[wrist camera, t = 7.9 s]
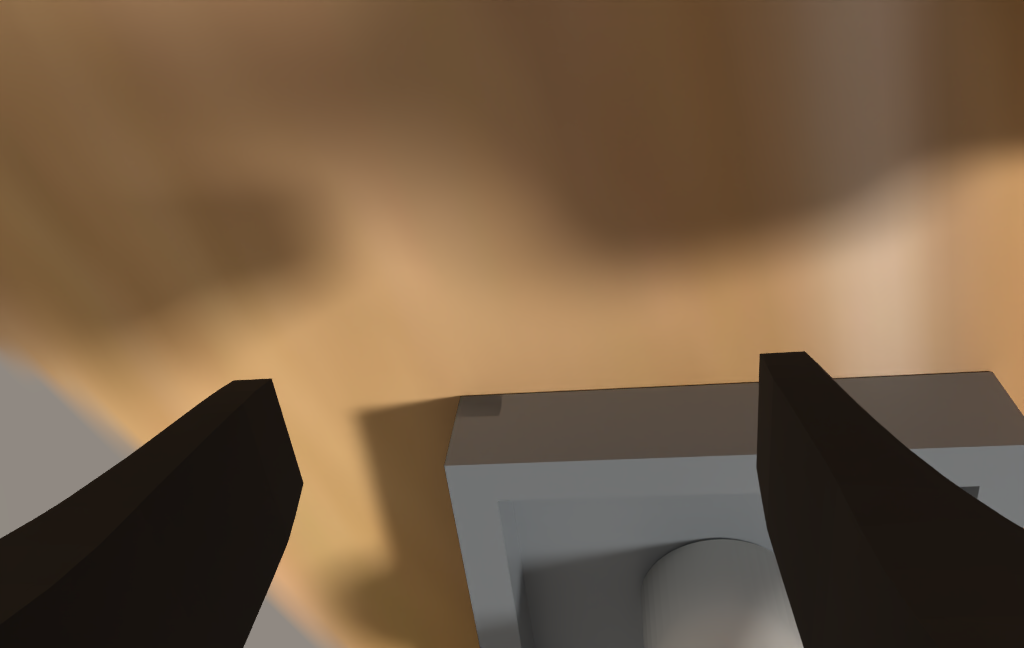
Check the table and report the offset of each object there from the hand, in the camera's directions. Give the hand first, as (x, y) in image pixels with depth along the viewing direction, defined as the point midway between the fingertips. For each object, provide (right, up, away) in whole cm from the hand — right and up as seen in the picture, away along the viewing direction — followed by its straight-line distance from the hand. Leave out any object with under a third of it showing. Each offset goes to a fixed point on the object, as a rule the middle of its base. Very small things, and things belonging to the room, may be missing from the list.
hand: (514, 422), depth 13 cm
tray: (+6, -6, +14) cm, 17 cm away
